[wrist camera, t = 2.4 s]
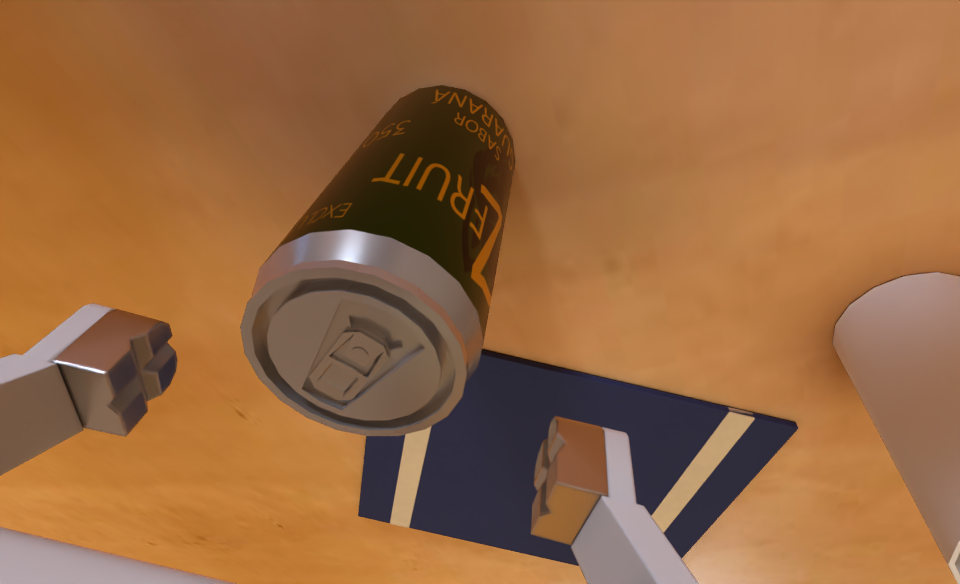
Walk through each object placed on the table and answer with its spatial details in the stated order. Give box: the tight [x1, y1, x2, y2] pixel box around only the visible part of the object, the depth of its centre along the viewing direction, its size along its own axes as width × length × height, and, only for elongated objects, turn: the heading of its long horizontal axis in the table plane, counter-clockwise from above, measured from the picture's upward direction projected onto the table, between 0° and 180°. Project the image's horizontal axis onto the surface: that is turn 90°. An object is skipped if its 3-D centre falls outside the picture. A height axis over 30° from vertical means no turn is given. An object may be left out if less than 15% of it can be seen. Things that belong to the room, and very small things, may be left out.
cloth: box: [358, 350, 798, 566], centre depth 32 cm, size 22×18×1 cm
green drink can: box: [240, 85, 515, 436], centre depth 16 cm, size 5×5×12 cm
